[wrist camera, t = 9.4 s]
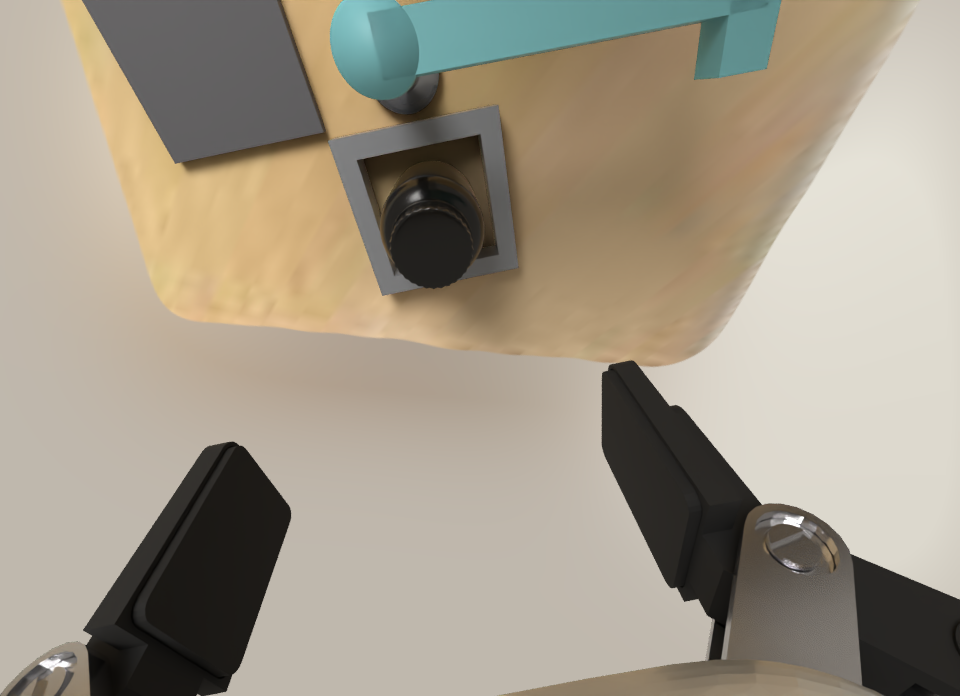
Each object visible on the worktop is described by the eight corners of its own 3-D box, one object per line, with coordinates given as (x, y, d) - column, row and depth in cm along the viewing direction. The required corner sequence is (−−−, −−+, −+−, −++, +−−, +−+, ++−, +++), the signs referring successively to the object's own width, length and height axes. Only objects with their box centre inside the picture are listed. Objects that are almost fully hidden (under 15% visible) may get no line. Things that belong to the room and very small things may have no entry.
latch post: (355, 33, 25) (296, -15, 14) (429, 18, 25) (425, -43, 14) (379, 120, 28) (345, 133, 17) (445, 106, 28) (453, 111, 17)
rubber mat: (65, -45, 22) (54, -49, 21) (250, -85, 22) (244, -91, 21) (181, 162, 28) (175, 163, 27) (326, 131, 28) (323, 132, 27)
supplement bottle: (484, 171, 31) (508, 206, 21) (463, 252, 34) (476, 315, 24) (398, 147, 29) (379, 172, 19) (386, 234, 32) (365, 294, 23)
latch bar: (366, 142, 17) (359, 146, 16) (313, -41, 14) (298, -59, 12) (737, 71, 17) (766, 68, 16) (774, -130, 14) (815, -158, 12)
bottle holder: (335, 137, 28) (327, 140, 26) (493, 104, 28) (498, 105, 26) (385, 284, 35) (382, 295, 33) (513, 257, 35) (518, 267, 33)
